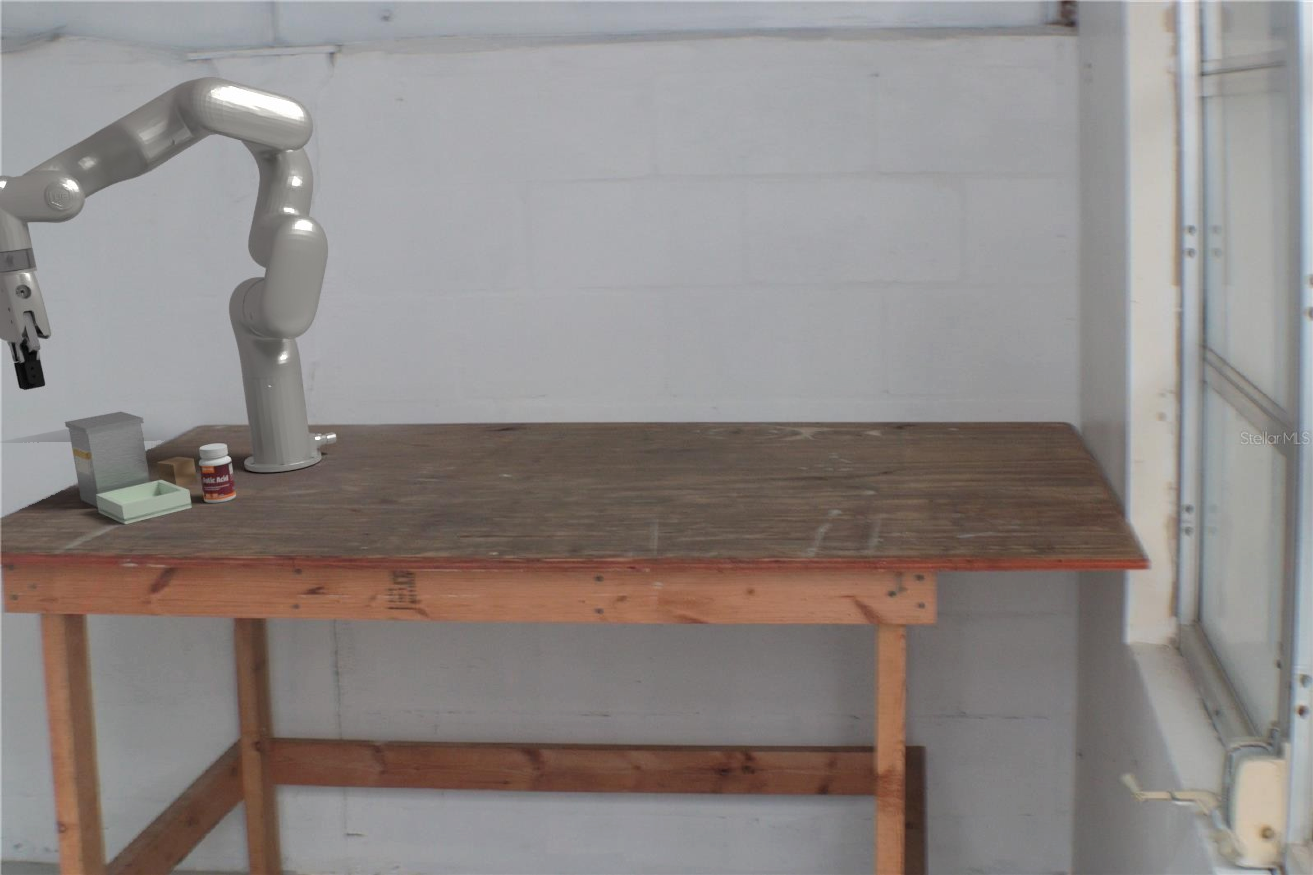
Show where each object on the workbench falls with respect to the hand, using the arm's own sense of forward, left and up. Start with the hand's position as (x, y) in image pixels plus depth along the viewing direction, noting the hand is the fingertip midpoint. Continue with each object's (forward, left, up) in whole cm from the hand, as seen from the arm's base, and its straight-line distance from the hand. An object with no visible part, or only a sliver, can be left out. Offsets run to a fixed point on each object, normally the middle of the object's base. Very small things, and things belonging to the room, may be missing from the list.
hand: (32, 387), depth 180 cm
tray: (-9, +11, -19) cm, 24 cm away
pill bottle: (-19, +15, -20) cm, 31 cm away
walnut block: (-19, 0, -20) cm, 27 cm away
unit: (-9, 0, -19) cm, 22 cm away
